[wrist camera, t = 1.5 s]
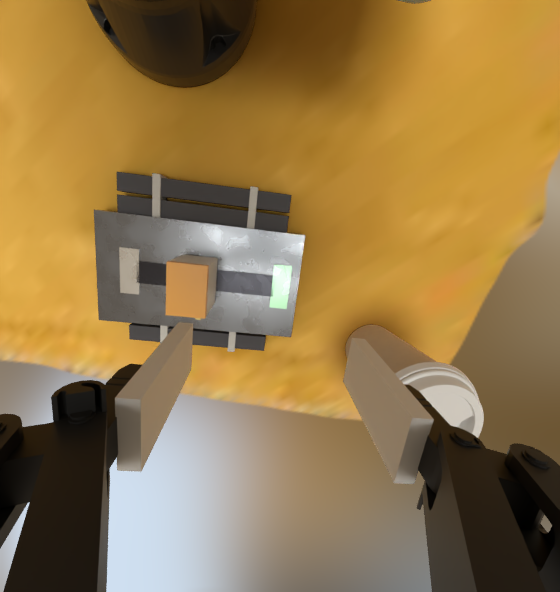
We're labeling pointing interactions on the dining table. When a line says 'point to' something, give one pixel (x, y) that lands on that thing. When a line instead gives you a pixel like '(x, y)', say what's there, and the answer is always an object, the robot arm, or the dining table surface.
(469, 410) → the coffee cup
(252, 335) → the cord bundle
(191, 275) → the lever
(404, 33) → the dining table surface
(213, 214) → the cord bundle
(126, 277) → the panel
